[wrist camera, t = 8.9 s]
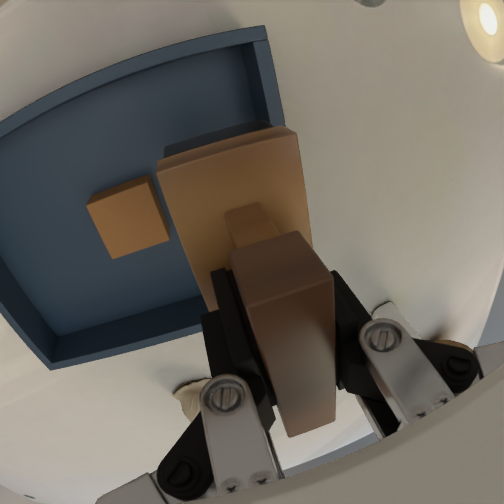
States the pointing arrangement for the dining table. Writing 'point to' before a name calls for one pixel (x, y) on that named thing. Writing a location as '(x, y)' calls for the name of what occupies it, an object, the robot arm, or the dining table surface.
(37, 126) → the tray
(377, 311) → the eye dropper bottle
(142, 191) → the tan flat square block
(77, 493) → the dining table surface
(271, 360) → the brush
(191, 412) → the decorative ornament
